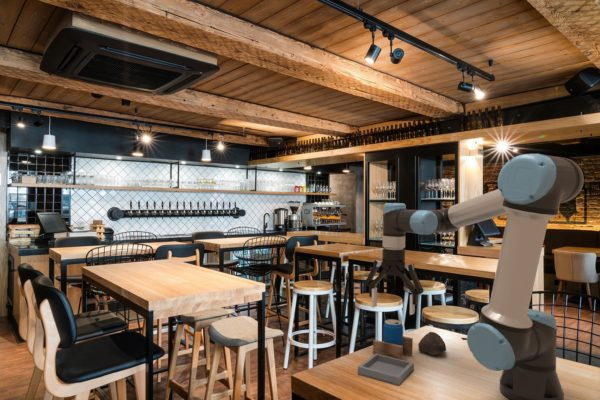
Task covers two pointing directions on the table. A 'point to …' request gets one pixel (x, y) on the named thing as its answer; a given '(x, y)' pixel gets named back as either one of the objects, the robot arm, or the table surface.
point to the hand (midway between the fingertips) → (392, 310)
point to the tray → (386, 369)
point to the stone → (432, 344)
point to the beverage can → (393, 332)
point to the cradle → (393, 348)
